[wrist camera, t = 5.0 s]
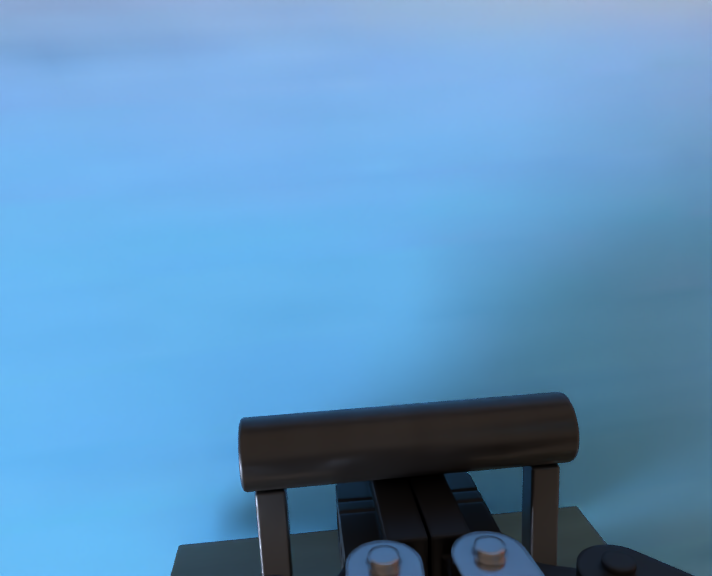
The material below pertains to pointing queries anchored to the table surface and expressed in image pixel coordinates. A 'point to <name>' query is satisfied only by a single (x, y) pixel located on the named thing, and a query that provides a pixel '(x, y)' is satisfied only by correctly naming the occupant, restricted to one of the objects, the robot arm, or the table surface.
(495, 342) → the table surface
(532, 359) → the table surface
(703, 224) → the table surface
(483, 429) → the drawer
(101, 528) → the table surface
